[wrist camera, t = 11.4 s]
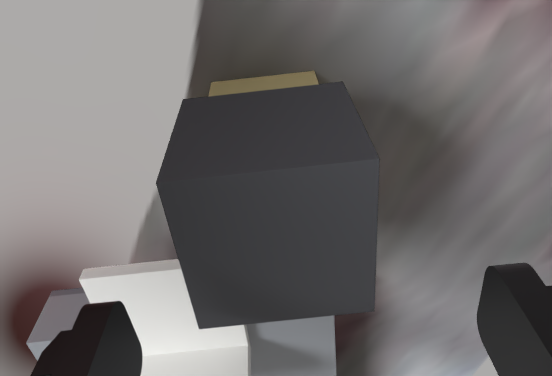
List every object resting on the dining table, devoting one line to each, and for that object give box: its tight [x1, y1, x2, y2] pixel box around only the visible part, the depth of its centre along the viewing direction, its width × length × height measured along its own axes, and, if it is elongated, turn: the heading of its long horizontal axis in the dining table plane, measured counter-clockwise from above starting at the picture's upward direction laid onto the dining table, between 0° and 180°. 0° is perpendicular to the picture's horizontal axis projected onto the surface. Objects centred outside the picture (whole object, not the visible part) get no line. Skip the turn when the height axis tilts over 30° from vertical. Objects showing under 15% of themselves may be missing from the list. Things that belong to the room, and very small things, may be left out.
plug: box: [156, 71, 379, 329], centre depth 15 cm, size 5×5×8 cm
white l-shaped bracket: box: [79, 259, 251, 376], centre depth 18 cm, size 6×6×4 cm
